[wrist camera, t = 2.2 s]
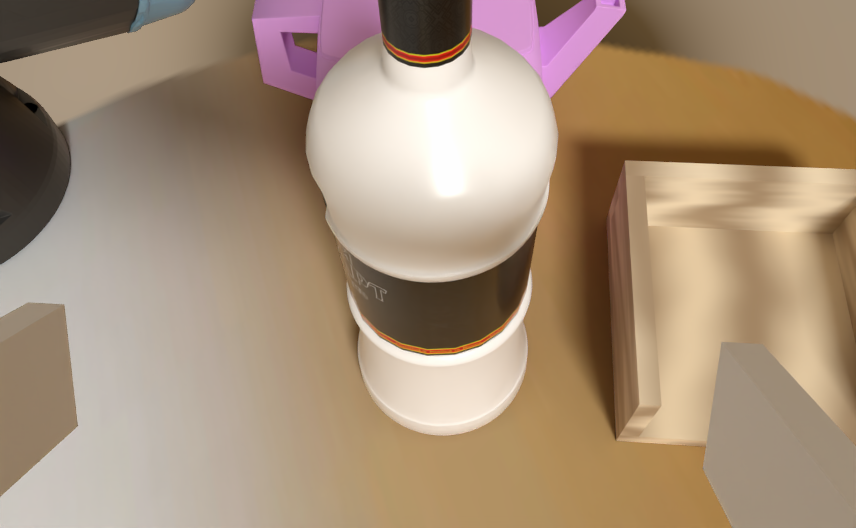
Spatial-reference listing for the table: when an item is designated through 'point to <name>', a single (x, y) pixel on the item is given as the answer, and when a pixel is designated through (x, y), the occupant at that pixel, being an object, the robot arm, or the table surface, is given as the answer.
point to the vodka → (435, 208)
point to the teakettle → (359, 19)
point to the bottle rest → (728, 288)
